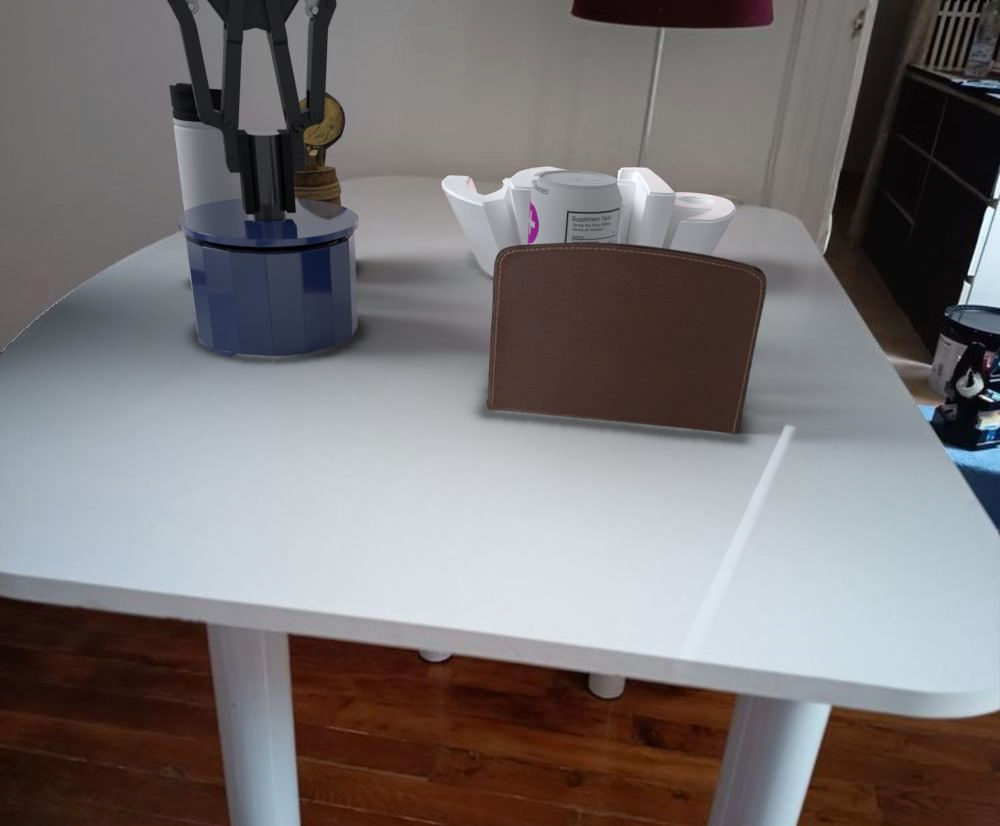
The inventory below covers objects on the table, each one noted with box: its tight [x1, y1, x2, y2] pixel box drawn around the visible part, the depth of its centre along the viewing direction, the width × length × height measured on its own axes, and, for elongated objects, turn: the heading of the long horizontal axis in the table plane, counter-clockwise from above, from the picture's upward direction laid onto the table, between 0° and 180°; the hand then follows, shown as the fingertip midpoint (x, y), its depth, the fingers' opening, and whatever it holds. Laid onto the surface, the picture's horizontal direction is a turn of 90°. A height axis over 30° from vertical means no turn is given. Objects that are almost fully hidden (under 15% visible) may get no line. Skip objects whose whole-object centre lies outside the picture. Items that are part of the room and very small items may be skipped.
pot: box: [183, 231, 359, 358], centre depth 84 cm, size 15×15×10 cm
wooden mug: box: [293, 92, 346, 206], centre depth 102 cm, size 9×14×18 cm, turn 178°
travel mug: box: [168, 82, 242, 212], centre depth 93 cm, size 6×7×20 cm
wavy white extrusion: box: [440, 166, 737, 278], centre depth 107 cm, size 35×16×11 cm, turn 88°
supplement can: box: [528, 169, 623, 244], centre depth 85 cm, size 8×8×15 cm
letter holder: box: [486, 242, 768, 435], centre depth 72 cm, size 10×20×14 cm, turn 82°
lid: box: [177, 129, 360, 248], centre depth 80 cm, size 16×16×8 cm
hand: (269, 209), depth 81 cm, fingers closed on lid, 3 cm apart
